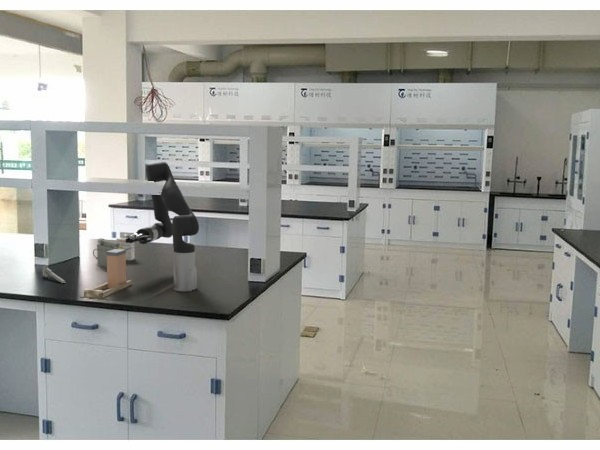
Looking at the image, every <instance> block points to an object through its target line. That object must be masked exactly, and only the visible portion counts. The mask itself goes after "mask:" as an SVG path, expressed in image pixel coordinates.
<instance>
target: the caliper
mask: <svg viewBox="0 0 600 450" xmlns="http://www.w3.org/2000/svg"><path fill="white" fill-rule="evenodd" d="M44 276H45V277H44ZM42 277H44V278H47V277H52V278H53V279H55V280H56V281H58V282H59V283H60V282H61V283H60V284H62V283H66V280H64V279H63V278H62V277H60V276H58V275H57V274H56V273H54V272H53V271H52V269H50V268H48V265H47V264H44V265H43V266H42ZM66 284H67V283H66Z"/></svg>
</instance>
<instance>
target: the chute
mask: <svg viewBox="0 0 600 450" xmlns="http://www.w3.org/2000/svg"><path fill="white" fill-rule="evenodd" d="M132 282H133V281H132V280H130V279H128V280H126V282H124V283H122V284H119V285H117V286H115V287H112V288H108V282H105V283H102V284H100V285H97V286H95V287H92V288H84V289H83V296H79V299H80V298H89V299H88V300H90V299H98V300H97V301H100V300H107V301H108V298H106V297H107V296H110V295H112V294H114V293H117V292H119V291H120V290H123V289H125V288H128V287H130V286H132V285H133V284H132ZM105 298H106V299H105Z"/></svg>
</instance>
